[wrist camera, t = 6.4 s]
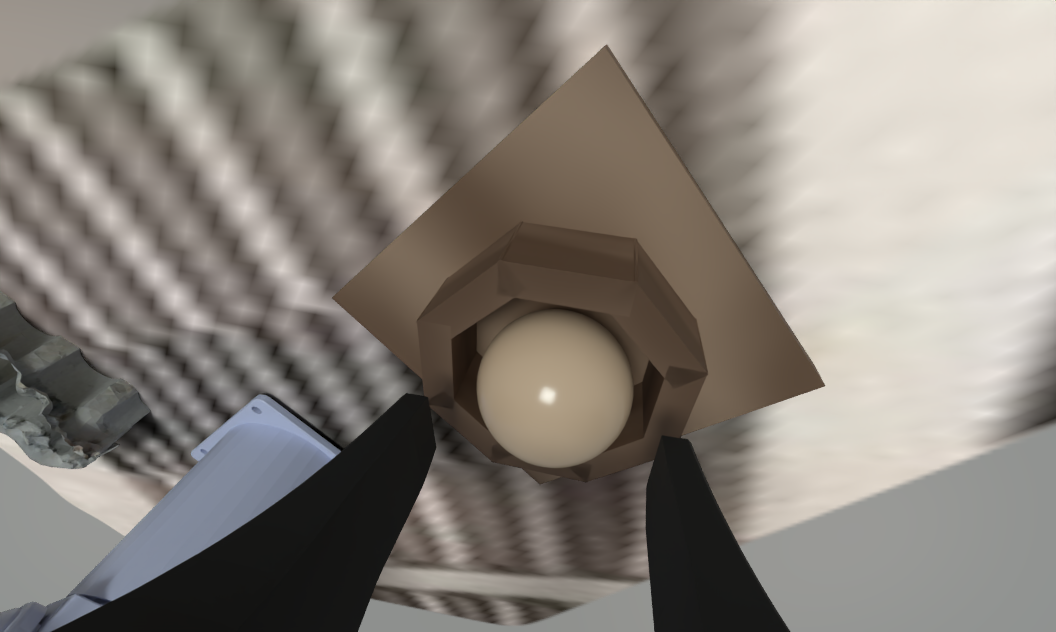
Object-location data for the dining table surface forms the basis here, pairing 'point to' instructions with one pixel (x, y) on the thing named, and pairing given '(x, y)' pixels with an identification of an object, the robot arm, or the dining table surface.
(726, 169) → the dining table surface
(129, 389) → the egg carton
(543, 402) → the egg
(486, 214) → the egg stand
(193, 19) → the dining table surface
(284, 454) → the robot arm
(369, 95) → the dining table surface
